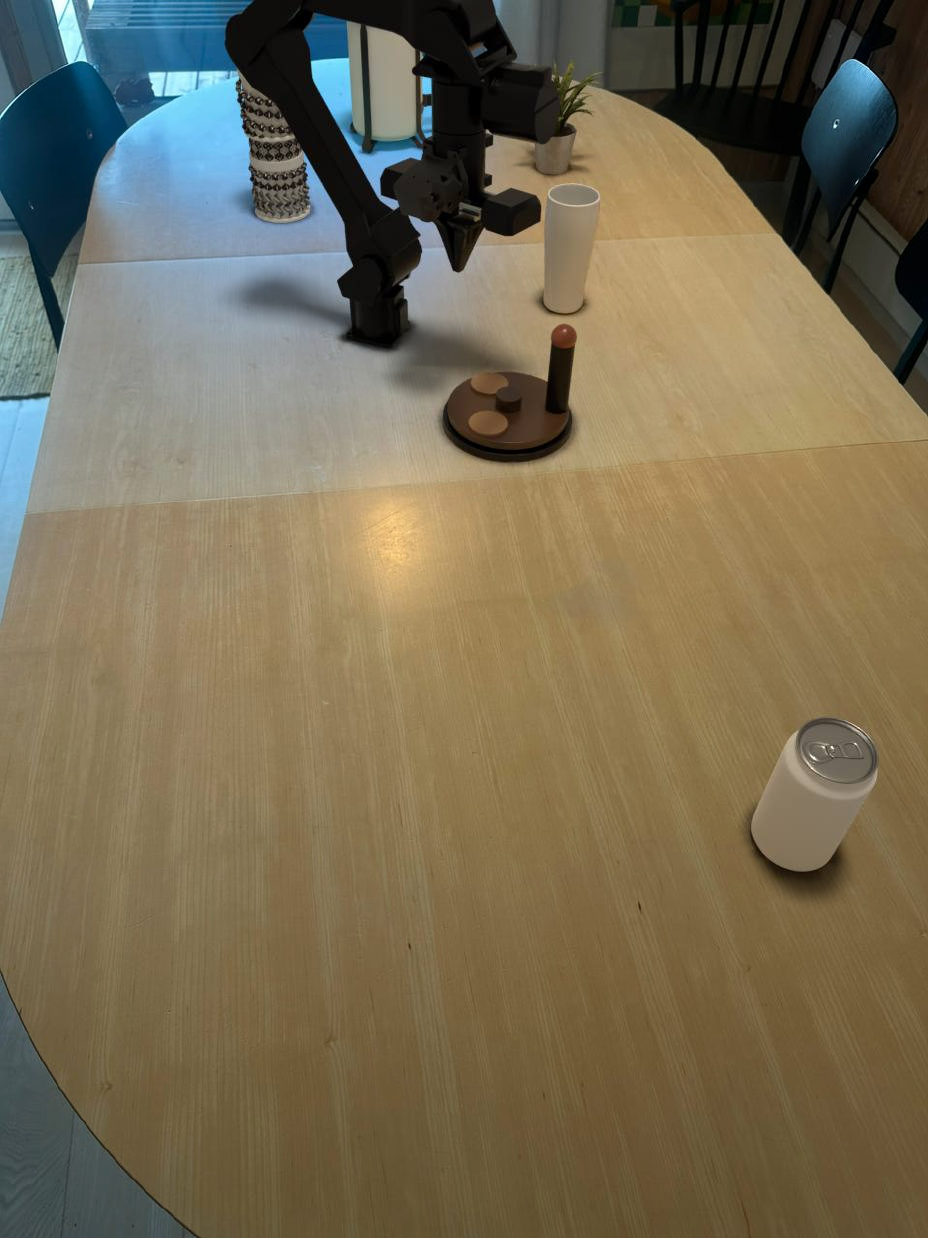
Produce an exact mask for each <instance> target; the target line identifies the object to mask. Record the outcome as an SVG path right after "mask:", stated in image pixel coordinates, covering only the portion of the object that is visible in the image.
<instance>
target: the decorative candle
mask: <svg viewBox="0 0 928 1238" xmlns="http://www.w3.org/2000/svg"><path fill="white" fill-rule="evenodd" d="M236 70H237V77H238V79H237V81H235V89H234V90H235V91H236V92H237V98H236V102H237V103H238V104H239V108H241V109H240V114H239V115H240V118H241V119H242V125H241V128H242V130H243V133H244V135H245V136H246V137H247V138H248V147H249V152H248V155H249V156H248V159H249V165H248V167H247V169H248V171H249V172H250V177H249V181H250V182H251V183H252V187H251V189H250V190H251V191H250V192H251V195H252V196H253V198H252V203H253V205H254V206H255V209H254V214H255V215H256V216H257V218H258V219H260V220H262V221H264V222H269V223H274V224H288V223H294V222H298V221H300V220H303V219H305V218H306V217H307V216H308V215H310V213H311V205H310V203H311V202H310V200H311V196H310V195H309V193H310V191H309V190H310V185H308V184H307V181H308V177H309V174H308V173H307V172H306V171H307V166H308V163H307V162H306V161H305V159H304V158H305V157H304V156H305V154H304V152H303V150H302V149H301V147H300V145H299V143H298V142H297V140H296V138H295V136H294V135H293V133H292V131H291V129H290V128H289V126H288V124H287V122H286V121H285V119H284V117H283V116H282V114H281V112H280V110H279V109H278V107H277V106H276V104H275V103H274V102H273V101H271V100H270V99H269V98H267V97H266V96H264V95H263V94H262V93H260V92H259V91H257V90H256V89H254V88H253V87H252V86H250V85H249V83H248V82H247V81H246V79H245V78H244V77H243V75H242V74H241V72H240V71H239V70H238V68H237V67H236Z"/></svg>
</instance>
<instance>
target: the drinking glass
mask: <svg viewBox="0 0 928 1238" xmlns="http://www.w3.org/2000/svg"><path fill="white" fill-rule="evenodd" d="M544 210H545V211H544V224H543V230H544V231H543V241H544V242H543V250H544V253H543V254H544V255H543V256H544V257H543V258H544V260H543V262H544V265H543V273H544V274H543V275H544V276H543V296H542V297H543V298H542V299H543V300H542V302H543V304H544V306H545V307H546V308H547V309H548V310H549V311H551V312H554V313H558V314H571V313H575V312H576V311H579V310H580V309H581V308H582V306H583V303H584V296H585V290H586V285H587V279H588V275H589V270H590V265H591V261H592V256H593V251H594V247H595V241H596V237H597V231H598V226H599V219H600V210H601V194H600V192H599V191H598V190H597V189H596V188H594V187H592V186H590V185H586V184H583V183H575V182H574V183H571V182H570V183H569V182H568V183H561V184H557V185H554V186H552V187H551V188H550V189H549V190H548V191H547V194H546V203H545V209H544Z"/></svg>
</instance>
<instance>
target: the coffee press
mask: <svg viewBox="0 0 928 1238" xmlns="http://www.w3.org/2000/svg"><path fill="white" fill-rule="evenodd" d="M346 31H347V32H346V33H347V48H348V49H347V50H348V51H347V52H348V64H349V65H348V66H349V84H350V85H349V86H350V99H351V101H350V102H351V116H352V117H351V118H352V121H351V122H350V124H349V129H350V131H352V132H353V133H358V134H359V135H360V136H362V137H363V141H362V144H361V151H362V152H364V153H368V154H371V153H373V151H374V148H375V145H376V144H377V143H378V142H399V141H404V140H408V139H409V140H411V141H412V142H413V143H414V144H415V146H416V147H417V148H418V149H422V146H423V144H424V139H425V138H427V137H426V135H425V134H424V132H423V128H422V127H423V113H424V111H425V108H426V107H432V103H431V93H423V77H421V76H415V75H413V73H412V68H413V67H414V66H415V65H417V64H418V63H419V62H420V61H421V59H422V58H423V53H422V52H420V51H418V50H416V49H414V48H413V47H412V46H411V45H410V44H409V43H408V42H407V41H406V40H405V39H404V38H403V37H401V36H399V35H397V34H395V33H393V32H389V31H385V30H381V29H377V28H373V27H369V26H365V25H361V24H357V23H353V22H349V21H346ZM416 135H418V137H419V138H418V137H417V136H416ZM419 139H420V140H419Z"/></svg>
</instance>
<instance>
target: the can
mask: <svg viewBox="0 0 928 1238" xmlns="http://www.w3.org/2000/svg"><path fill="white" fill-rule="evenodd" d="M879 762H880V756H879V750H878V748H877V745H876V743H875V742H874V740H873V738H872V737H870V735H869V734H868V733H867V732H866V731H865V730H864V729H863V728H861V727H859V726H858V725H856V724H855V723H853V722H850V721H849V720H846V719H843V718H839V717H833V716H819V717H815V718H811V719H810V720H808V721H806V722H805V723H803V724H802V725H801V726H800V728H799V729H797V730H796V731H794V732H793V733H792V734H791V736H790V737H789V738H788V740H787V741H786V743H785V745H784V747H783V749H782V751H781V753H780V756H779V757H778V760H777V762H776V764H775V767H774V768H773V770H772V773H771V775H770V777H769V780H768V782H767V784H766V785H765V788H764V790H763V793H762V795H761V797H760V799H759V802H758V804H757V806H756V808H755V811H754V813H753V816H752V820H751V823H750V830H751V835H752V839H753V840H754V842H755V845H756V846H757V848H758V849H759V851H760V852H761V854H763V855H764V856H765V858H767V860H769V861H771V862H772V863H773V864H775V865H777V866H779V867H781V868H783V869H786V870H789V871H793V872H812V871H815V870H818V869H820V868H822V867H823V866H825V865H826V864H827V863H828V862H829V861H830V860H831V859H832V857H833V856H834V854H835V853H836V851H837V849H838V848H839V846H840V844H841V843H842V841H843V840H844V838H845V836H846V834H847V833H848V832H849V829H850V828H851V826H852V824H853V823H854V821H855V820H856V818H857V817H858V815H859V813H860V811H861V809H862V808H863V806H864V804H865V802H866V801H867V799H868V798H869V796H870V794H871V793H872V792H873V791H872V790H873V789H874V787H875V785H876V782H877V778H878V767H879Z"/></svg>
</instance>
